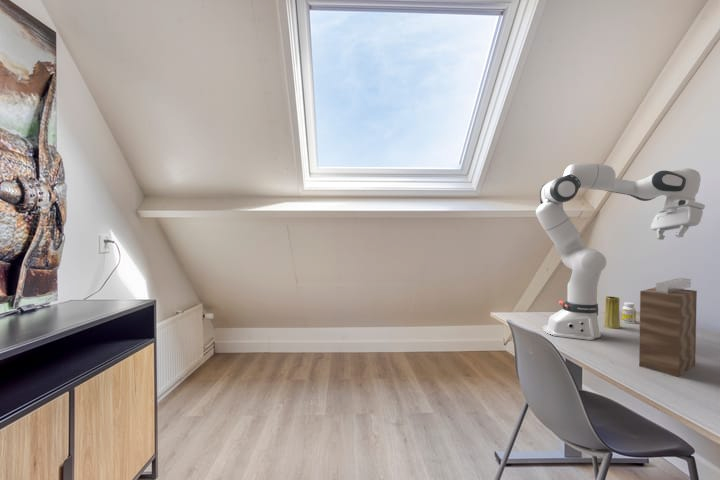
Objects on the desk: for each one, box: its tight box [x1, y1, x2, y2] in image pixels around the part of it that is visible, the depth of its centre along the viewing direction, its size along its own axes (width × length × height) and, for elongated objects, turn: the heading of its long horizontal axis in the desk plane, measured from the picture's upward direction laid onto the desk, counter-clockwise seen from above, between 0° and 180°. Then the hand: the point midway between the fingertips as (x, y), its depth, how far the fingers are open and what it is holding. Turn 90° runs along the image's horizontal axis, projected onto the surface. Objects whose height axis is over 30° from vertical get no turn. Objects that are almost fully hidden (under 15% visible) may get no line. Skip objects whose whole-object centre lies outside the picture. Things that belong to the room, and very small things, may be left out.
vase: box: [603, 296, 621, 330], centre depth 156 cm, size 6×6×14 cm
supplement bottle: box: [621, 301, 637, 324], centre depth 164 cm, size 5×5×10 cm
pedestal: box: [638, 286, 698, 378], centre depth 112 cm, size 16×10×26 cm, turn 120°
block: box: [655, 277, 692, 294], centre depth 114 cm, size 22×3×3 cm, turn 120°
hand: (669, 238), depth 135 cm, fingers open, 8 cm apart
